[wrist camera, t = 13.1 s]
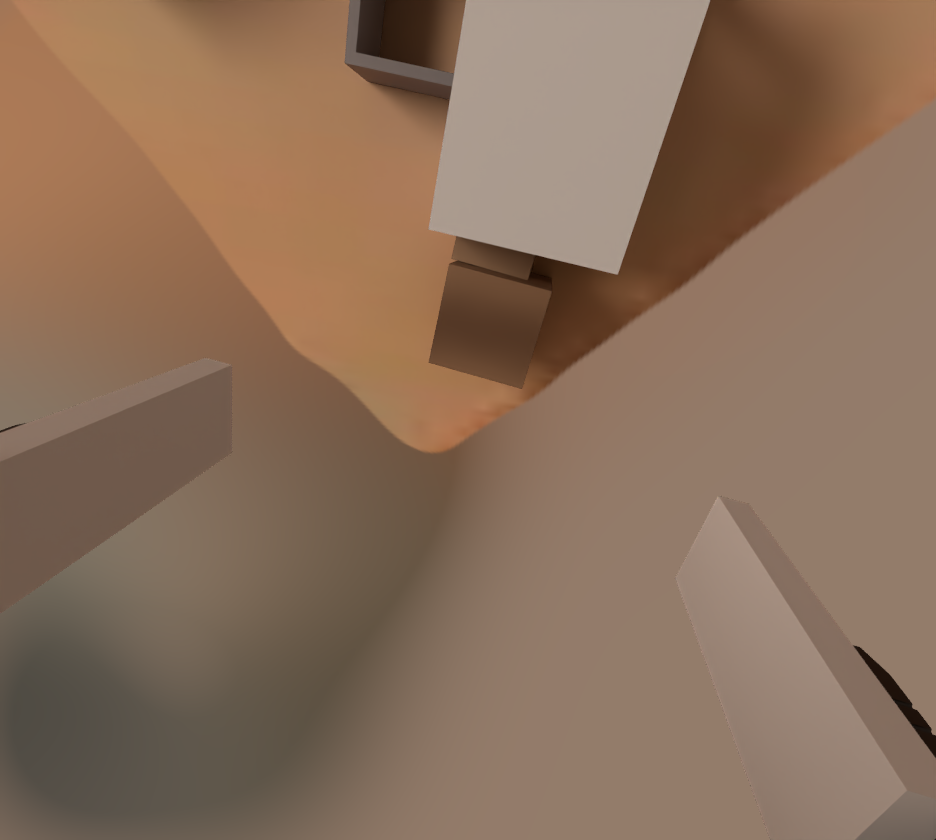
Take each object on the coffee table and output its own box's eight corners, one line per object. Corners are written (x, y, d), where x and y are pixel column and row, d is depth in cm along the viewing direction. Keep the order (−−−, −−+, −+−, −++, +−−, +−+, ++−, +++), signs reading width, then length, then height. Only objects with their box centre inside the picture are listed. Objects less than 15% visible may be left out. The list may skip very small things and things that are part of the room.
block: (469, 256, 27) (449, 263, 22) (551, 278, 27) (552, 291, 21) (451, 337, 29) (428, 362, 24) (527, 358, 29) (521, 388, 23)
